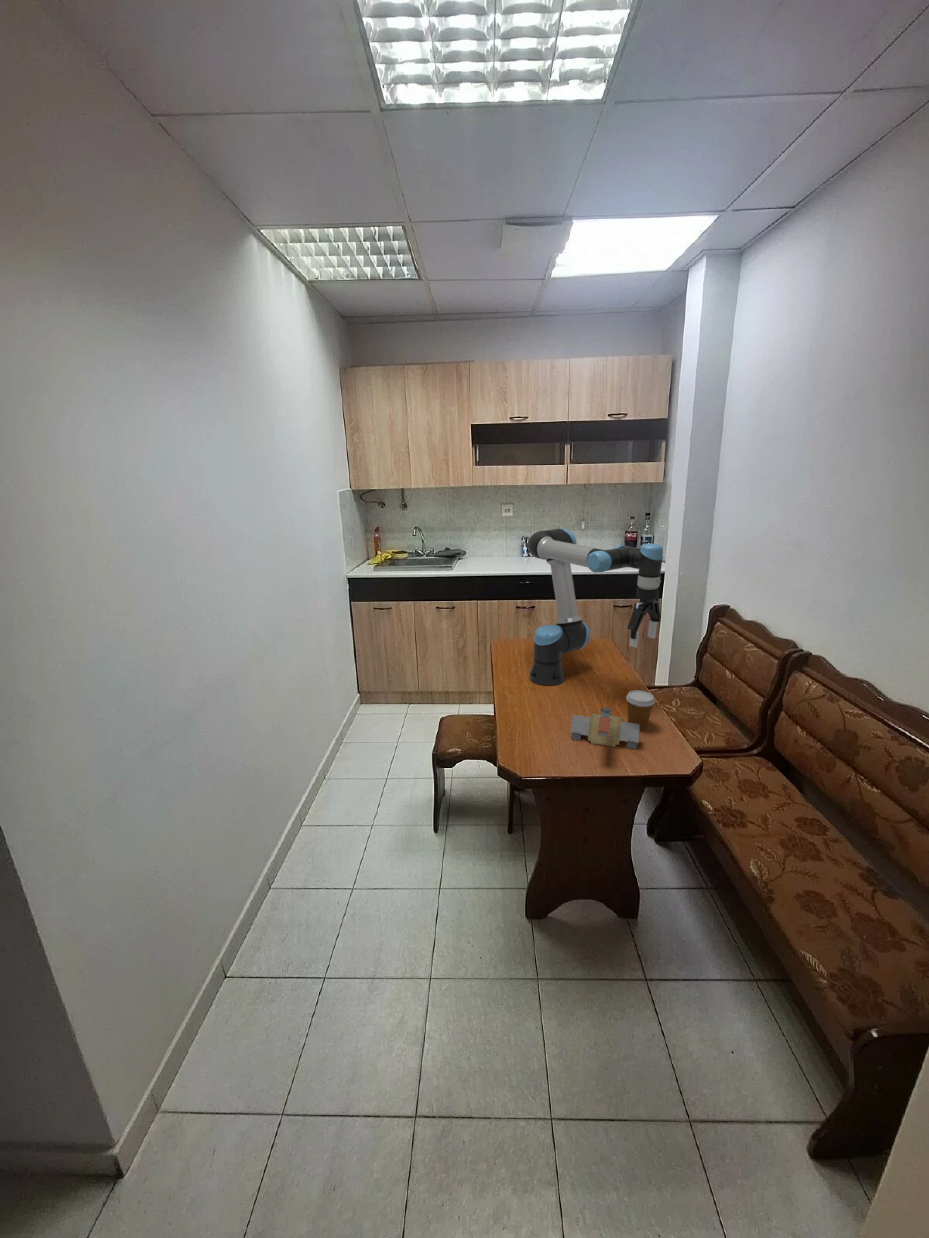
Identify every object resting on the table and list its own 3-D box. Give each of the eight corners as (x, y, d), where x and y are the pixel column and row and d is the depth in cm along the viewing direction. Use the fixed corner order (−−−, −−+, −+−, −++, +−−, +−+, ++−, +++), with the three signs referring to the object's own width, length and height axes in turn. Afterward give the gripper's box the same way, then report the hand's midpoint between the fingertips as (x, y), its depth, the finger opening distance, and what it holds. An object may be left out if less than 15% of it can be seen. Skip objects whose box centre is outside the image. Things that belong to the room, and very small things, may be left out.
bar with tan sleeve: (569, 739, 166) (571, 714, 163) (572, 729, 173) (573, 705, 170) (637, 750, 159) (640, 724, 156) (637, 739, 166) (640, 714, 163)
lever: (600, 710, 165) (600, 706, 165) (611, 712, 164) (611, 708, 164) (596, 735, 150) (597, 731, 150) (608, 737, 149) (609, 733, 148)
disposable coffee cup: (648, 735, 168) (651, 704, 164) (620, 728, 173) (623, 698, 169) (654, 723, 176) (657, 693, 172) (627, 716, 181) (630, 687, 177)
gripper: (640, 595, 165) (635, 653, 172) (674, 582, 181) (667, 636, 188) (620, 591, 171) (616, 647, 177) (654, 579, 187) (649, 631, 193)
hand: (642, 641), depth 183 cm, fingers open, 13 cm apart
